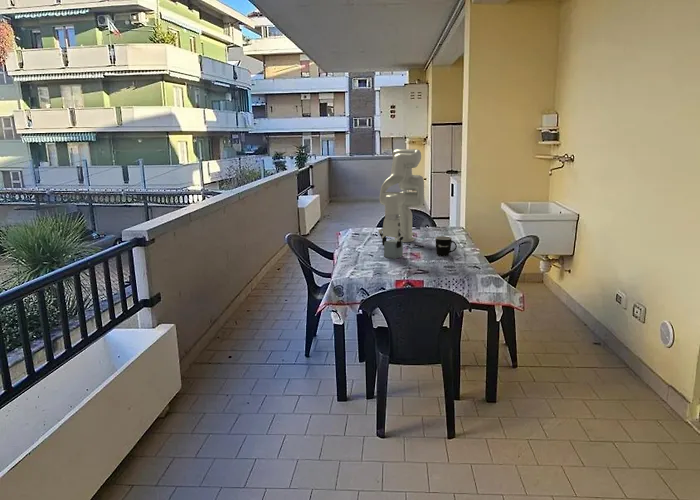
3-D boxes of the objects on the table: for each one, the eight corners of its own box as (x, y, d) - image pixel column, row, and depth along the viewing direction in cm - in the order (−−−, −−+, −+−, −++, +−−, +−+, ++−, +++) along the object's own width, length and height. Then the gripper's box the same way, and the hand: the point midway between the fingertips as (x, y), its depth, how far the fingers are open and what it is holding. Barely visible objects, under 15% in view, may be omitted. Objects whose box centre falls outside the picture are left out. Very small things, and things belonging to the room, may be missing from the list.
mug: (434, 256, 285) (435, 239, 282) (435, 252, 293) (436, 235, 291) (456, 257, 282) (456, 240, 280) (456, 253, 291) (457, 236, 288)
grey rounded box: (391, 254, 291) (391, 239, 289) (402, 256, 287) (402, 241, 284) (384, 256, 285) (384, 241, 283) (395, 258, 281) (395, 243, 278)
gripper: (408, 217, 277) (408, 247, 281) (382, 213, 287) (382, 242, 291) (401, 219, 271) (401, 250, 275) (375, 216, 281) (375, 245, 286)
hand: (391, 246), depth 283 cm, fingers open, 9 cm apart
